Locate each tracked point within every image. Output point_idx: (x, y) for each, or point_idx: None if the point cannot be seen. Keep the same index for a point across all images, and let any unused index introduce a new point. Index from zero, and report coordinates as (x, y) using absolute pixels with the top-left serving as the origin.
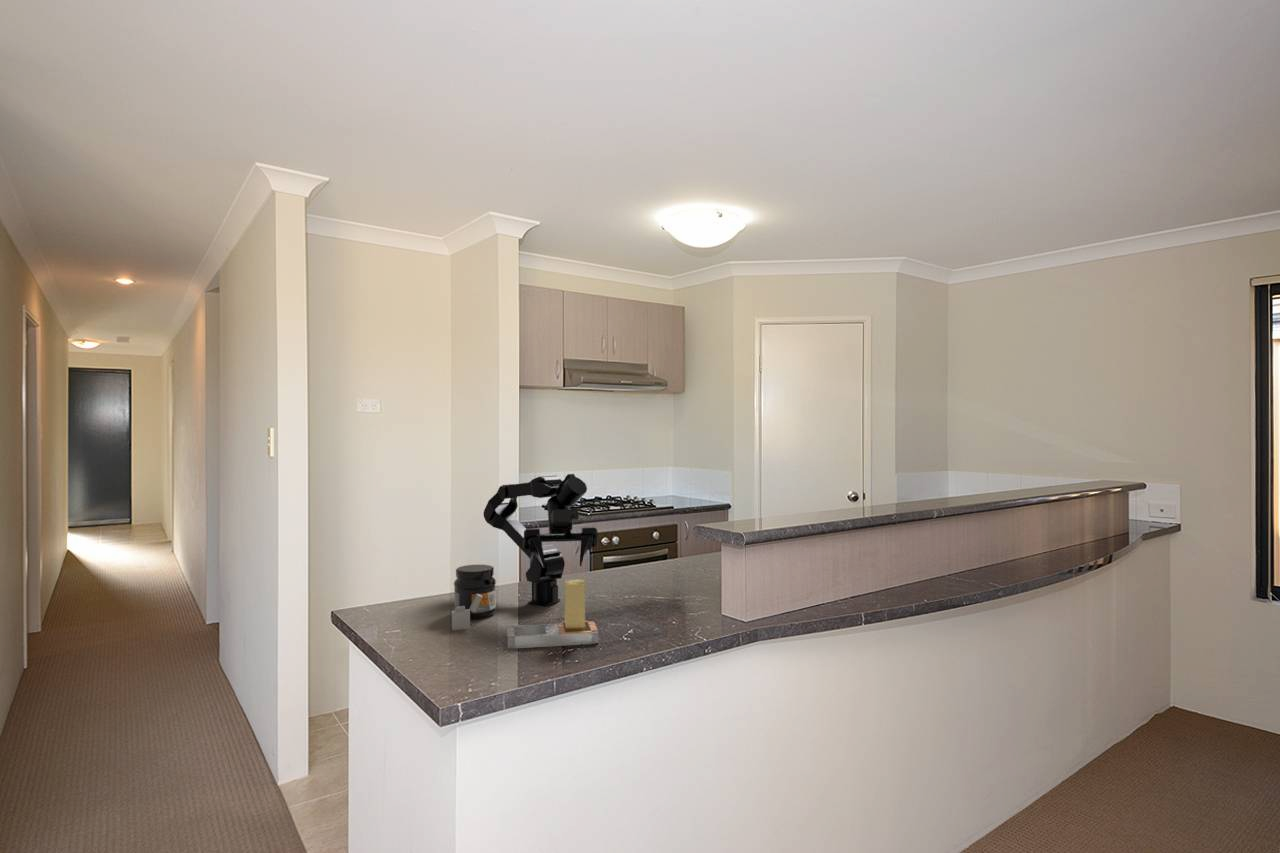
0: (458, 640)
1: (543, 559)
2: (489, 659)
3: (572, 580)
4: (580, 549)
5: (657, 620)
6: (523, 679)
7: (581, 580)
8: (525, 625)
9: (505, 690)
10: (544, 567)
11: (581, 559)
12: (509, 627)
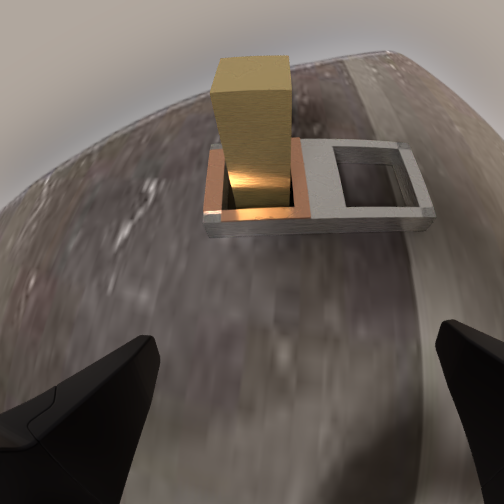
0: (497, 224)
1: (475, 338)
2: (412, 126)
3: (258, 84)
4: (76, 448)
5: (49, 303)
6: (341, 70)
7: (222, 84)
8: (395, 211)
9: (354, 57)
10: (436, 341)
11: (125, 350)
12: (428, 203)
